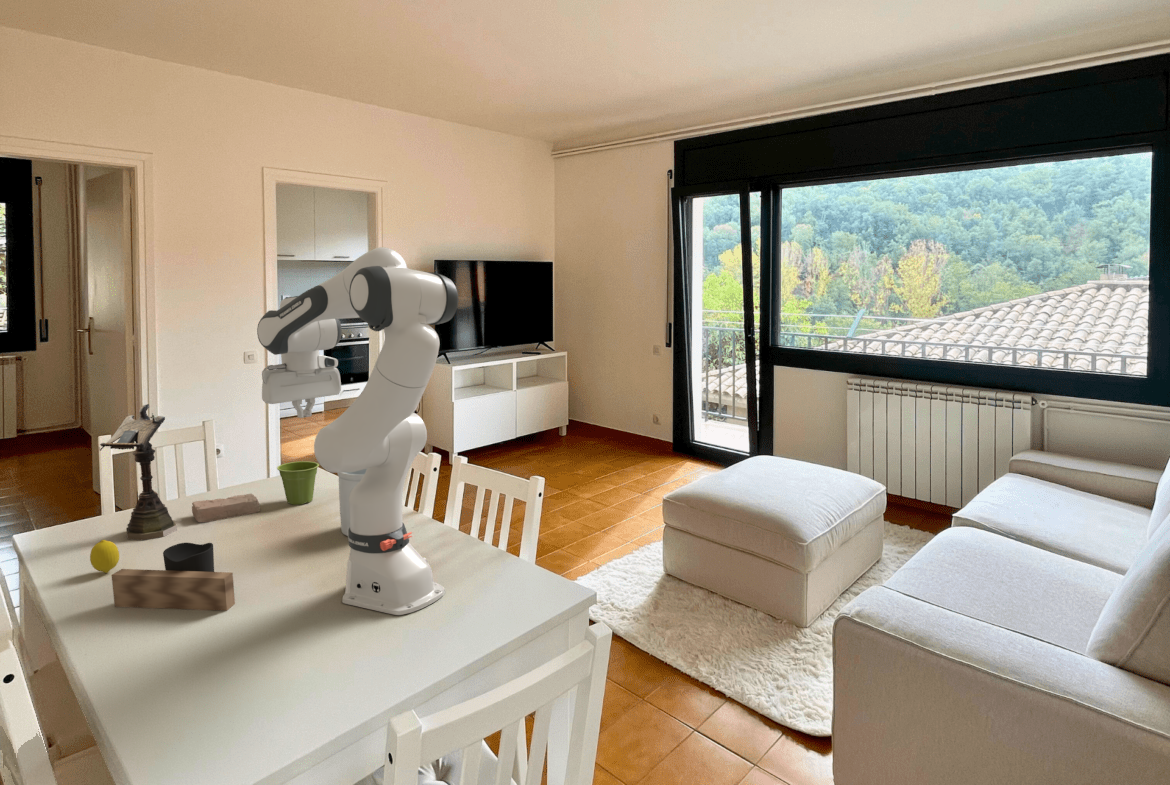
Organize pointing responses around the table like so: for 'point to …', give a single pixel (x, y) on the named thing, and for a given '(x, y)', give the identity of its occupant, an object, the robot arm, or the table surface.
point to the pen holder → (189, 557)
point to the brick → (225, 508)
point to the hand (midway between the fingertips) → (304, 417)
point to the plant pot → (298, 481)
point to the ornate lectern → (143, 477)
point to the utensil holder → (347, 495)
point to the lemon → (104, 556)
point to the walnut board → (173, 589)
